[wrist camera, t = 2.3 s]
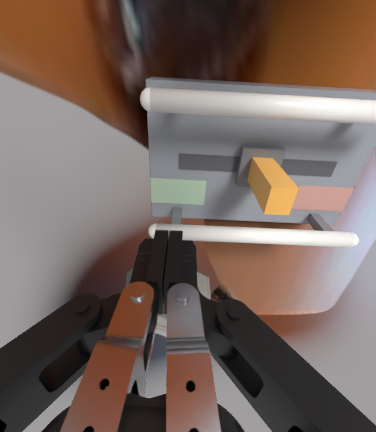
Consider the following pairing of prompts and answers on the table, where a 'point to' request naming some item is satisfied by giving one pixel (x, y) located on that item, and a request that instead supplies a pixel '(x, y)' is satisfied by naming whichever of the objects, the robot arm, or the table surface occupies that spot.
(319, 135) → the breaker panel
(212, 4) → the table surface
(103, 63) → the table surface
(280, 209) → the breaker toggle
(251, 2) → the table surface
